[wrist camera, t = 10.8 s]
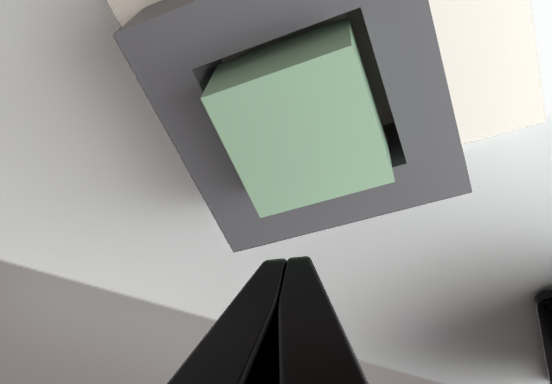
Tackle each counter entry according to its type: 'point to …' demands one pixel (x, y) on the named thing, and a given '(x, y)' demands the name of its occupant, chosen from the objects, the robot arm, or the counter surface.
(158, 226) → the counter surface
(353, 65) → the button
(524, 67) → the picture board
